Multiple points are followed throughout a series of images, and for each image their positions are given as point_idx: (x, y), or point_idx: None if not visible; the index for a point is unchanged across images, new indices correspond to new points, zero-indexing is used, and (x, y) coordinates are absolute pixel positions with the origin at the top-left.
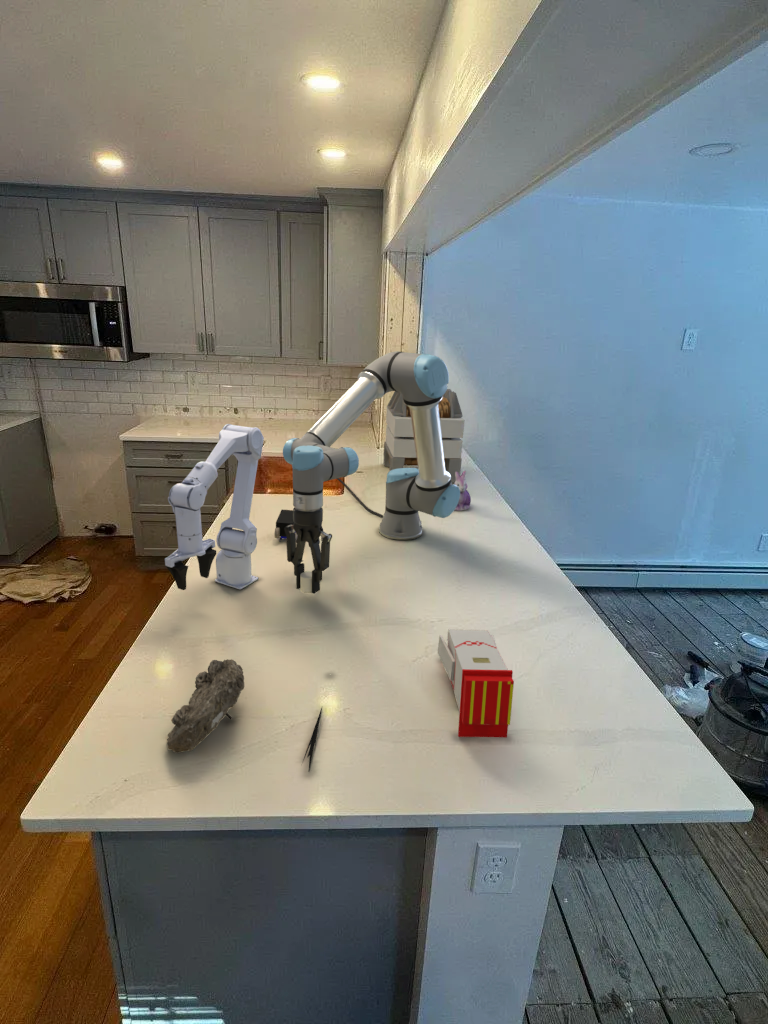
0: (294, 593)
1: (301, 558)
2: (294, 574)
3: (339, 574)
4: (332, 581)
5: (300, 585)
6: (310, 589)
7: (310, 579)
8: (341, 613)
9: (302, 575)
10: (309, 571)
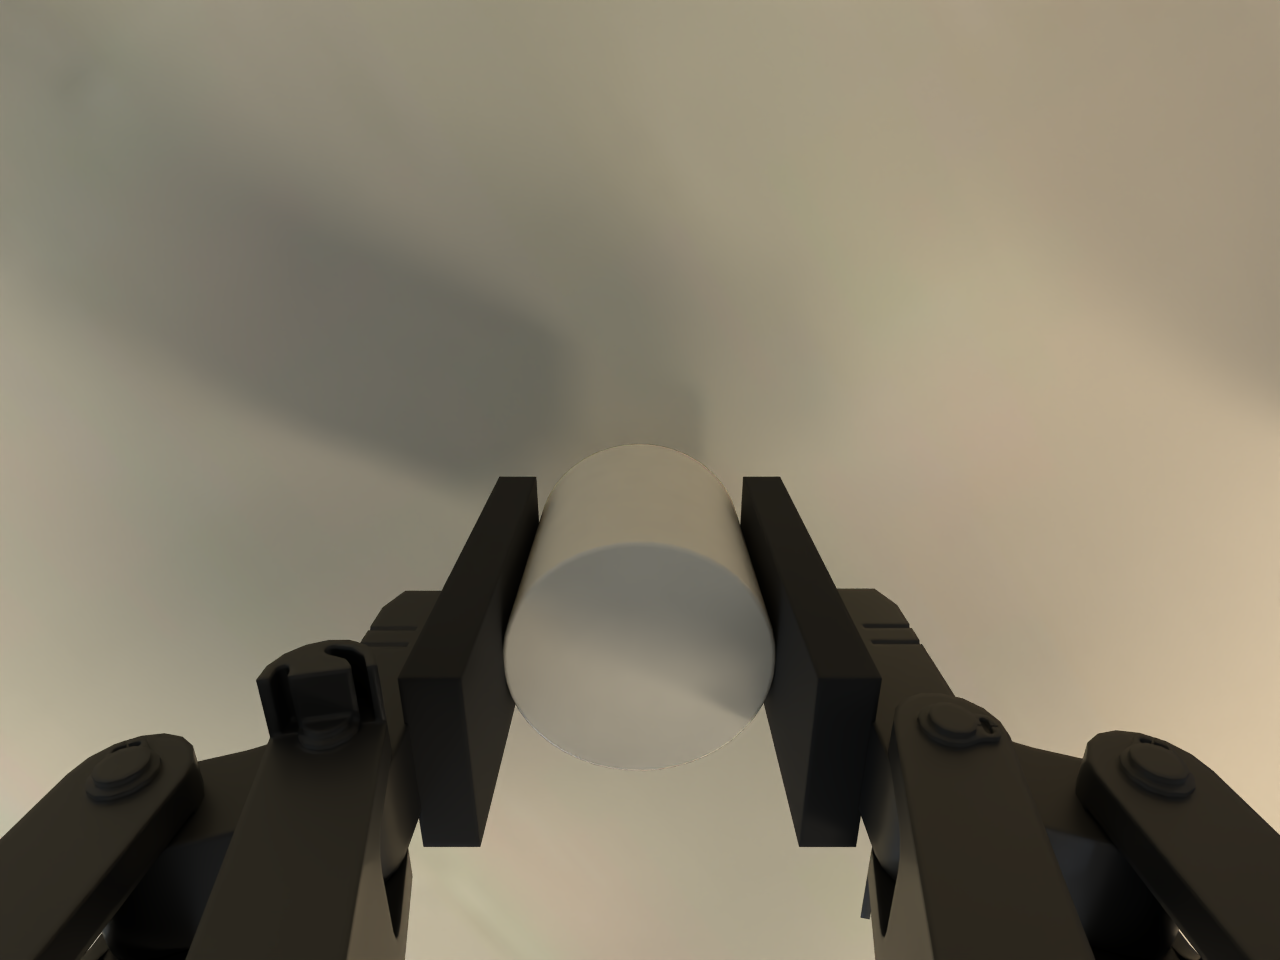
0: (833, 506)
1: (882, 934)
2: (884, 598)
3: (654, 952)
4: (635, 845)
5: (721, 502)
6: (556, 499)
7: (534, 574)
8: (152, 408)
9: (709, 598)
10: (689, 754)
